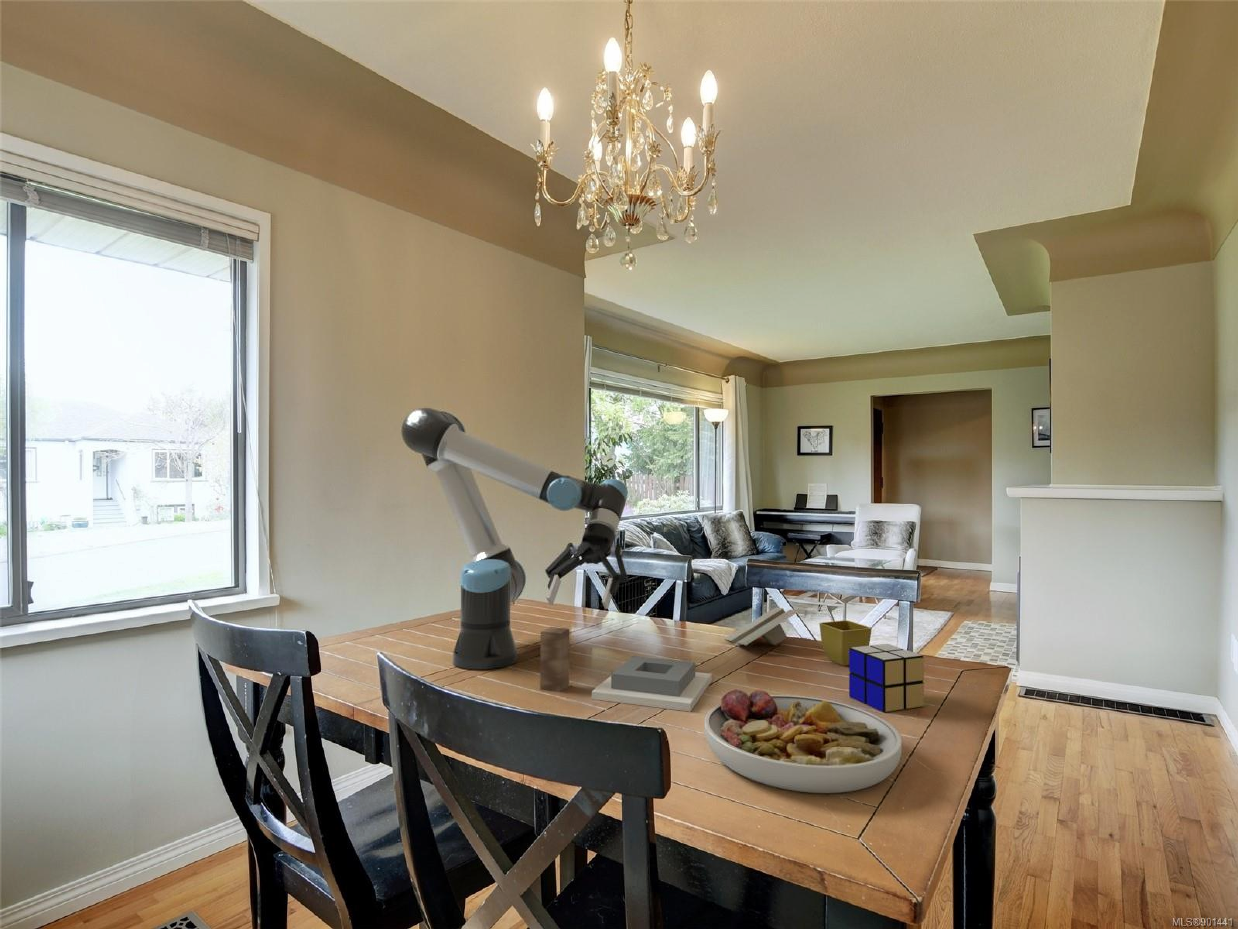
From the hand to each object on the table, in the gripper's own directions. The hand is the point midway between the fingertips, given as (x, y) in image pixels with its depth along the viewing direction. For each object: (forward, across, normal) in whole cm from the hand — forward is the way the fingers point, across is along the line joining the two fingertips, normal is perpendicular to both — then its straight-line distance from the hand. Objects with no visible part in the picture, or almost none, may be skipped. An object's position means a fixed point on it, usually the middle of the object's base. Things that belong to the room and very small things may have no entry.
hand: (576, 603), depth 149 cm
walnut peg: (+19, 0, -3) cm, 19 cm away
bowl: (+31, -51, +8) cm, 60 cm away
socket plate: (+15, -20, -8) cm, 26 cm away
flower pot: (-10, -57, -33) cm, 66 cm away
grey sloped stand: (-16, -36, -39) cm, 56 cm away
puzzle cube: (+9, -65, -14) cm, 67 cm away
